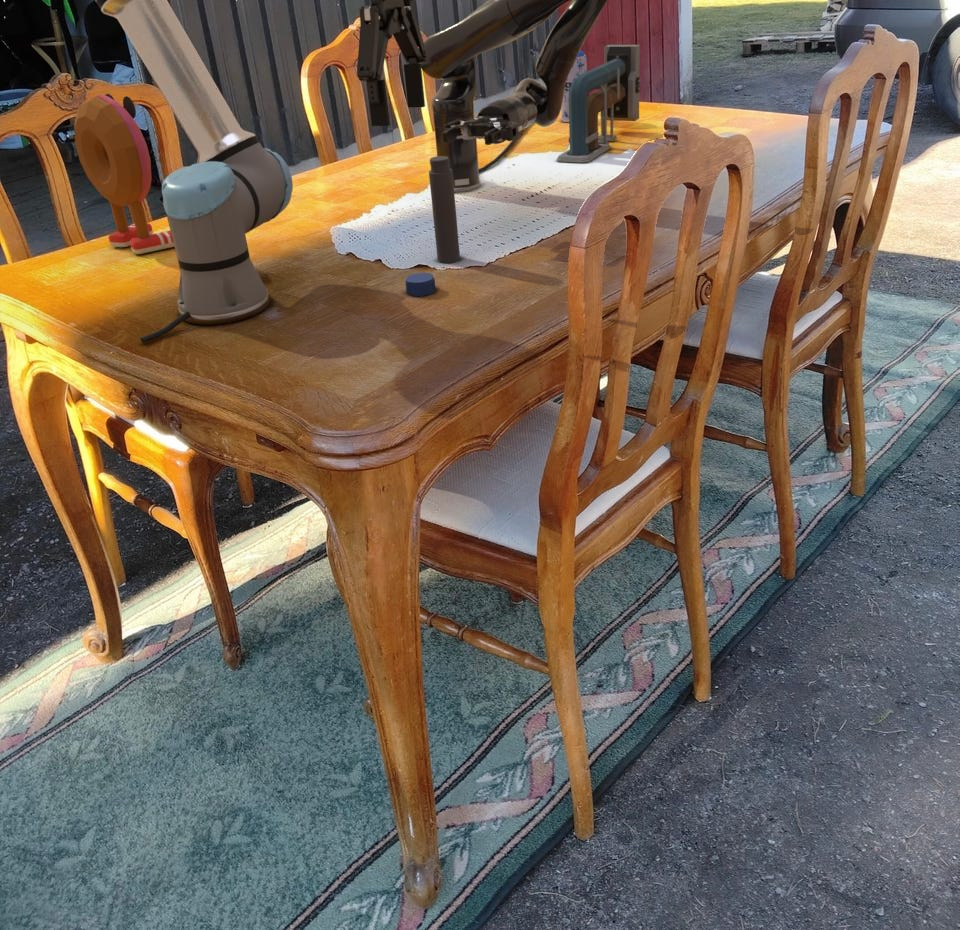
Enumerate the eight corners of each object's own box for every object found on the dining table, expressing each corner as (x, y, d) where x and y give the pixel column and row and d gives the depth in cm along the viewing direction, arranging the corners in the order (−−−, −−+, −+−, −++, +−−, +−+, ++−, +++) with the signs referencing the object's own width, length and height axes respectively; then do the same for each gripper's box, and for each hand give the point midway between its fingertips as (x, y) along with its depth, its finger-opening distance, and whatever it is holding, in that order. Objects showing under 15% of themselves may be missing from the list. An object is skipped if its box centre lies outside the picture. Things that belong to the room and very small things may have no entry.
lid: (433, 295, 164) (432, 281, 163) (405, 297, 165) (403, 283, 163) (436, 285, 168) (435, 271, 167) (408, 286, 169) (407, 273, 168)
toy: (192, 246, 198) (156, 92, 183) (148, 260, 192) (107, 102, 177) (139, 230, 212) (102, 85, 196) (96, 243, 205) (54, 95, 190)
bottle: (435, 257, 181) (425, 157, 172) (457, 254, 182) (448, 154, 173) (439, 264, 178) (429, 162, 168) (462, 261, 179) (453, 159, 169)
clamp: (587, 162, 233) (585, 68, 223) (554, 161, 237) (551, 68, 226) (639, 130, 259) (639, 44, 248) (608, 129, 263) (607, 44, 252)
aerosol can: (559, 122, 275) (557, 47, 265) (562, 117, 282) (559, 42, 272) (587, 121, 274) (585, 45, 263) (589, 115, 280) (587, 41, 270)
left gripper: (368, -29, 130) (387, 134, 141) (438, -45, 150) (450, 99, 161) (319, -26, 132) (341, 133, 143) (394, -42, 152) (409, 100, 163)
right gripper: (469, 98, 191) (430, 116, 179) (535, 100, 185) (499, 118, 173) (472, 137, 195) (433, 157, 183) (537, 140, 189) (501, 161, 177)
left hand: (399, 116), depth 152 cm, fingers open, 13 cm apart
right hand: (465, 138), depth 178 cm, fingers open, 8 cm apart
